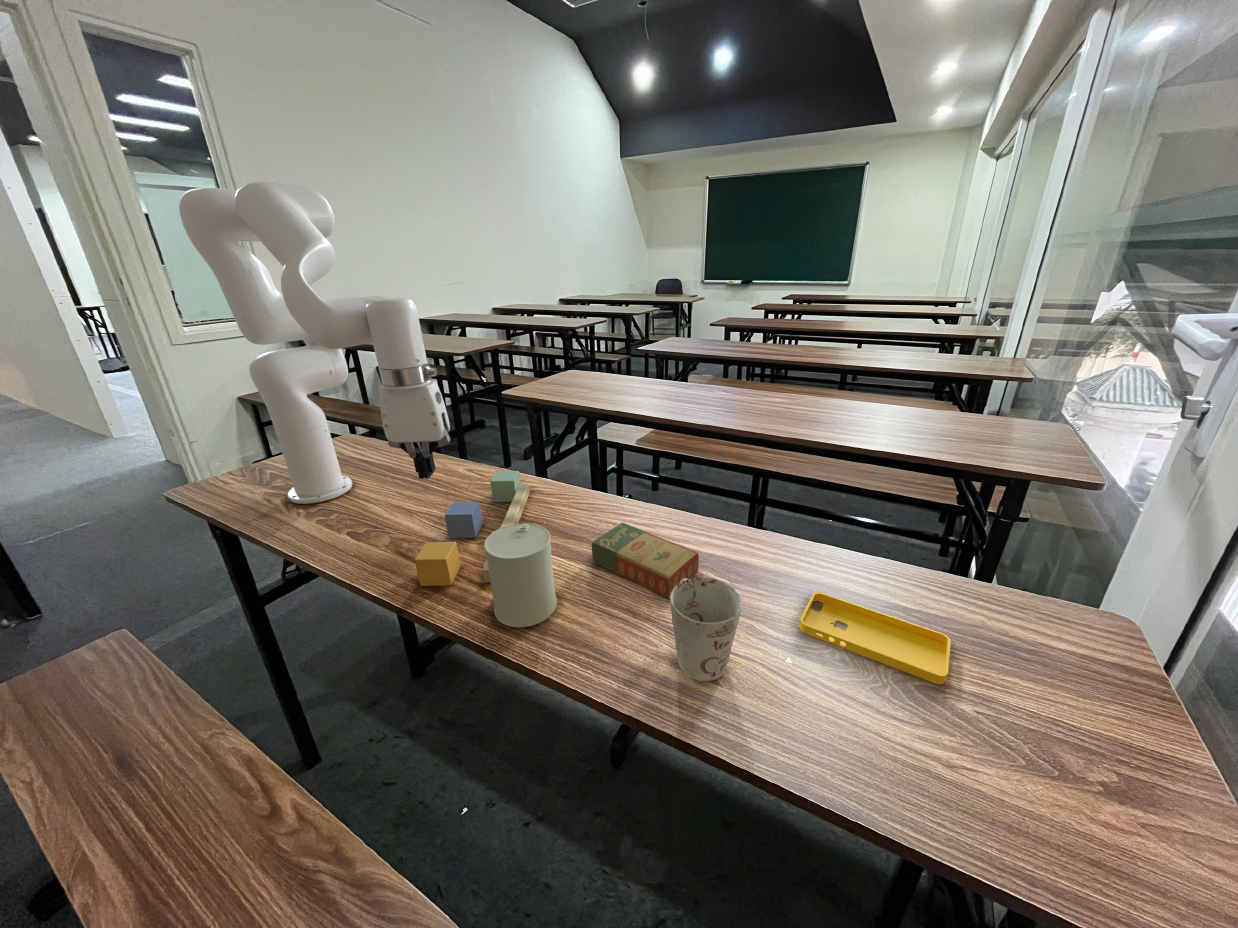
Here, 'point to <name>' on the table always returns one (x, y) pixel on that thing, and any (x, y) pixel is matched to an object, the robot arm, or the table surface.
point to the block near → (437, 563)
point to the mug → (704, 625)
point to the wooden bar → (511, 517)
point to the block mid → (463, 520)
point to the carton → (645, 558)
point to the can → (521, 574)
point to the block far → (505, 485)
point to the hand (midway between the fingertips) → (426, 475)
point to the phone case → (879, 637)
